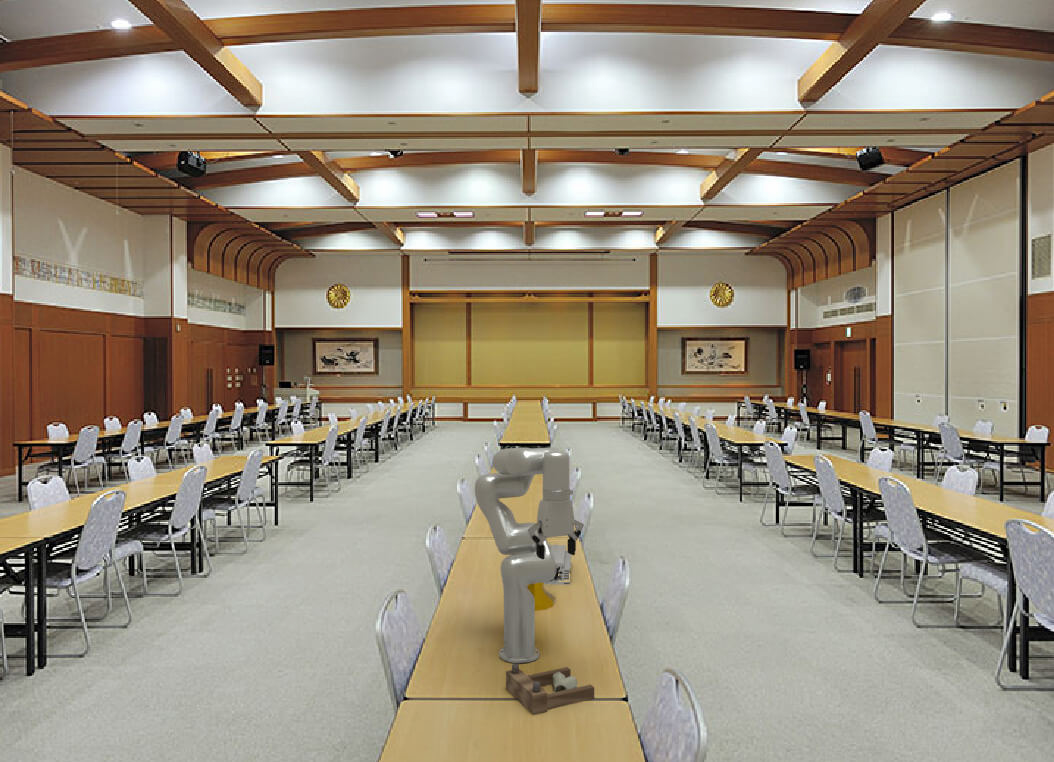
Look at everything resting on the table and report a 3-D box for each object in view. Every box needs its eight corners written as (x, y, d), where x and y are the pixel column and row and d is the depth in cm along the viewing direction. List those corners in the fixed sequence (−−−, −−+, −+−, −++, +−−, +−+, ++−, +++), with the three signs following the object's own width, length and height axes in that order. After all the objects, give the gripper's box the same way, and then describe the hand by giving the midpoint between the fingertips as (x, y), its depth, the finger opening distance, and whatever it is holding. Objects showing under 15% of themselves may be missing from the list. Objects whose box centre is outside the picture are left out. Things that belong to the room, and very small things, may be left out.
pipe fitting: (575, 686, 208) (552, 684, 208) (576, 672, 208) (553, 671, 208) (578, 699, 200) (553, 697, 200) (579, 685, 200) (555, 683, 200)
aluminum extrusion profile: (571, 565, 334) (571, 543, 333) (570, 585, 303) (570, 561, 303) (539, 564, 335) (539, 543, 334) (535, 584, 304) (535, 560, 304)
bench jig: (505, 688, 205) (505, 663, 205) (565, 676, 214) (565, 652, 214) (533, 714, 190) (533, 687, 190) (596, 699, 199) (596, 674, 198)
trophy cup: (496, 609, 273) (496, 534, 272) (525, 591, 294) (525, 521, 294) (538, 616, 265) (538, 539, 264) (566, 597, 287) (566, 525, 286)
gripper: (576, 491, 214) (576, 549, 214) (522, 495, 206) (522, 556, 206) (589, 495, 207) (589, 555, 207) (534, 500, 199) (534, 563, 199)
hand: (556, 556), depth 207 cm, fingers open, 9 cm apart
